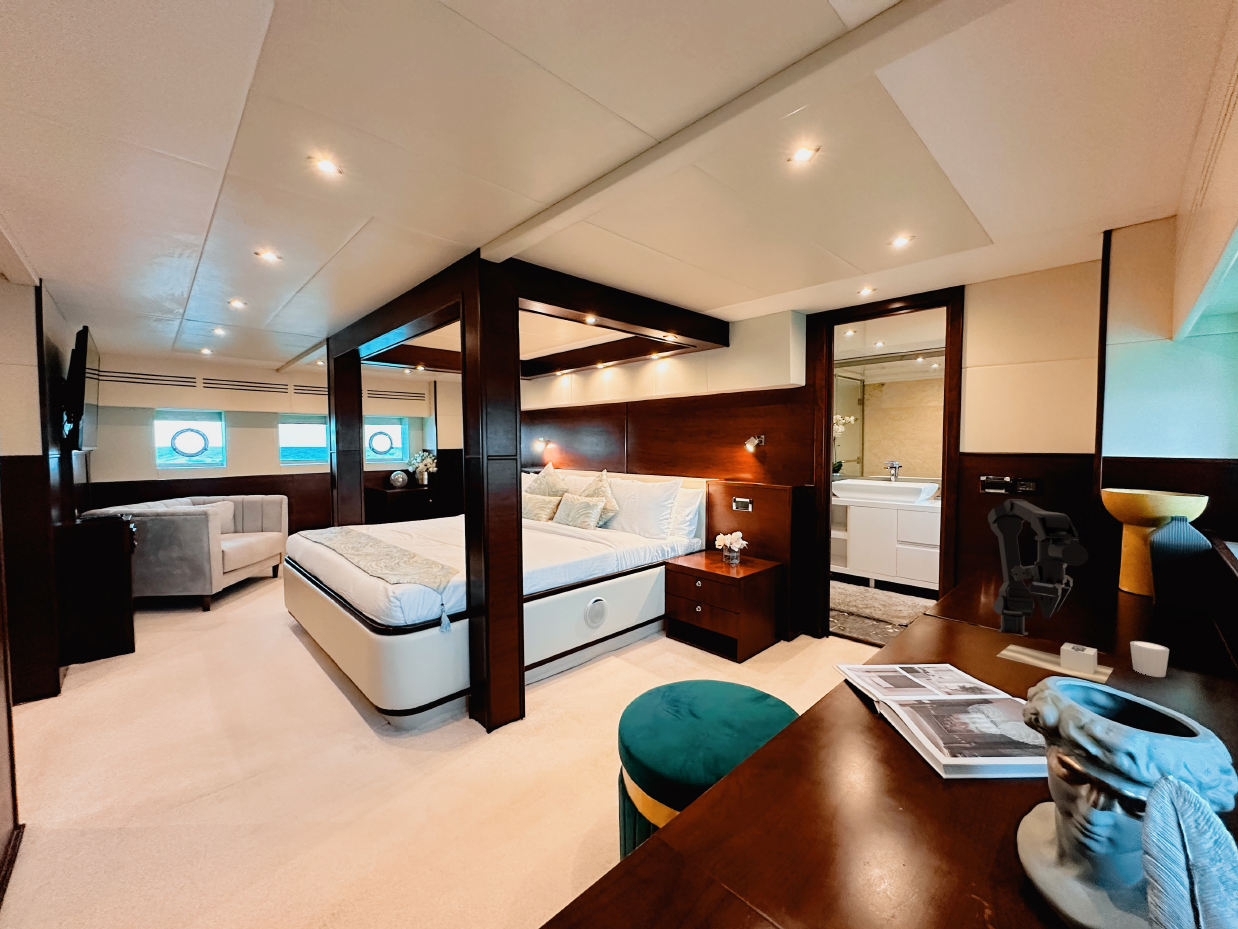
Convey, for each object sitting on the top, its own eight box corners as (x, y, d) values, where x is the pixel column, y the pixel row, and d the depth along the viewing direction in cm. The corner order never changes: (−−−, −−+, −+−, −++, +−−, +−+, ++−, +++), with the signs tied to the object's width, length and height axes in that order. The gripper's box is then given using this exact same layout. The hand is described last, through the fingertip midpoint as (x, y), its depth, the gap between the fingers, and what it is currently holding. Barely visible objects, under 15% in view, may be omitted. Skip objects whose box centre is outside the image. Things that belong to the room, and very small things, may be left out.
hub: (1065, 661, 129) (1065, 641, 129) (1096, 669, 125) (1097, 648, 125) (1060, 667, 125) (1060, 647, 125) (1092, 675, 121) (1092, 654, 121)
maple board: (1010, 649, 141) (1011, 644, 141) (1113, 674, 125) (1113, 668, 125) (996, 661, 133) (996, 655, 133) (1104, 689, 116) (1104, 683, 116)
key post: (1076, 666, 126) (1077, 644, 126) (1083, 667, 125) (1083, 646, 125) (1074, 668, 125) (1074, 647, 125) (1080, 670, 124) (1081, 648, 124)
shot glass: (1177, 678, 123) (1177, 650, 123) (1149, 678, 123) (1149, 650, 123) (1148, 667, 130) (1148, 640, 130) (1122, 666, 130) (1122, 640, 130)
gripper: (1023, 550, 147) (1022, 602, 147) (1005, 558, 136) (1004, 614, 136) (1073, 556, 139) (1072, 611, 139) (1058, 564, 127) (1057, 624, 127)
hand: (1050, 615), depth 135 cm, fingers open, 9 cm apart
